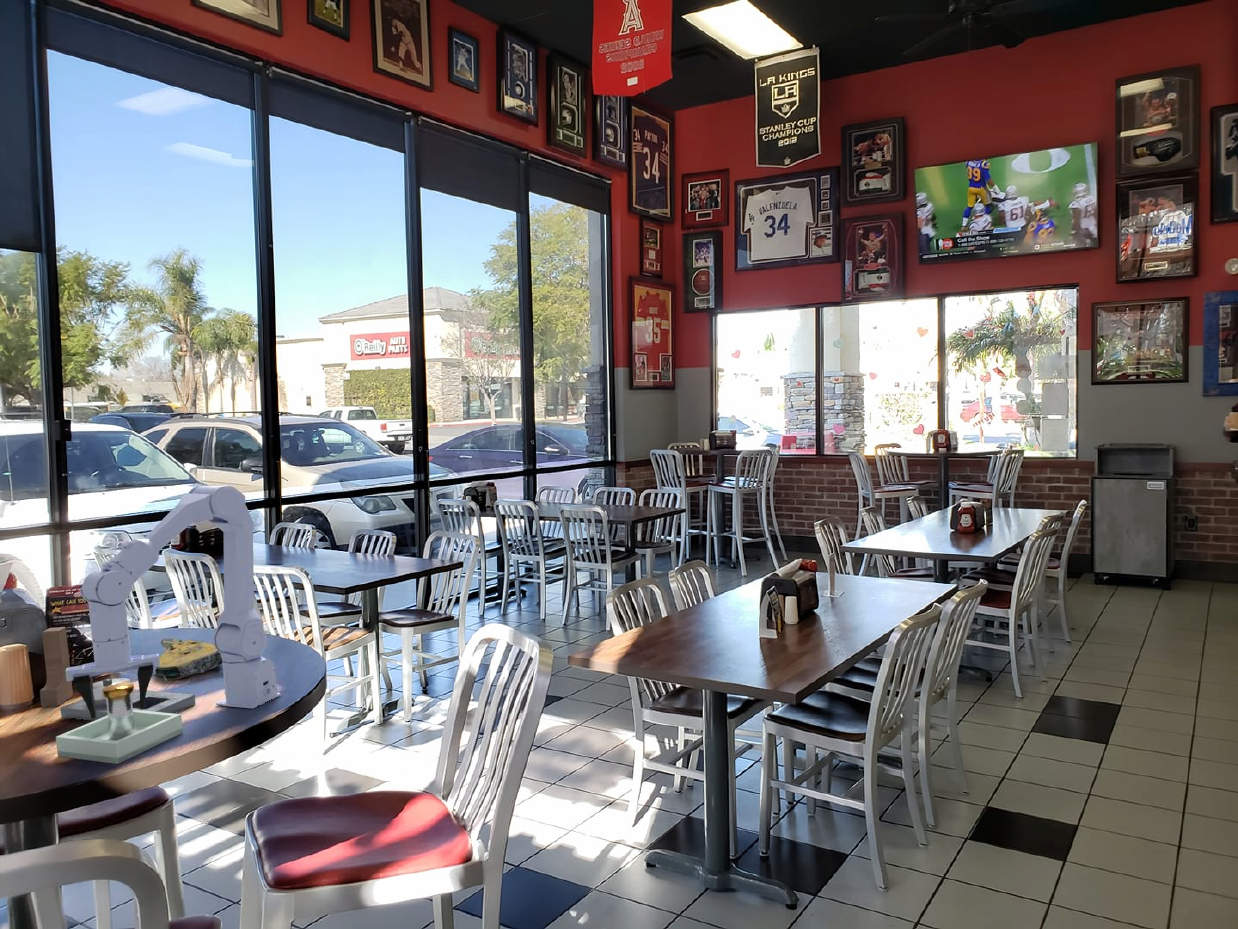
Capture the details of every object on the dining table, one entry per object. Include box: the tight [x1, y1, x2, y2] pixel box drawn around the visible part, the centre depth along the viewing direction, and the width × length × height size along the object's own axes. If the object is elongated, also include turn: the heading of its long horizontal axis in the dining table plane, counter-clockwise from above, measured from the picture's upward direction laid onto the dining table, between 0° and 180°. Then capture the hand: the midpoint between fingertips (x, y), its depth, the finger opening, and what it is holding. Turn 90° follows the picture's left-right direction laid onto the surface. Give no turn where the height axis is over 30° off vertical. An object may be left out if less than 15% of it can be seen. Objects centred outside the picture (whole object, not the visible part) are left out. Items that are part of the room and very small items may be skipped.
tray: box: [55, 710, 184, 765], centre depth 164 cm, size 14×14×4 cm
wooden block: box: [39, 626, 74, 708], centre depth 189 cm, size 7×3×15 cm, turn 6°
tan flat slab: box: [154, 638, 223, 682], centre depth 212 cm, size 14×6×30 cm
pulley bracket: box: [59, 677, 196, 722], centre depth 182 cm, size 22×12×6 cm, turn 70°
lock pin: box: [102, 682, 135, 740], centre depth 165 cm, size 5×5×9 cm
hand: (118, 712), depth 163 cm, fingers open, 7 cm apart
